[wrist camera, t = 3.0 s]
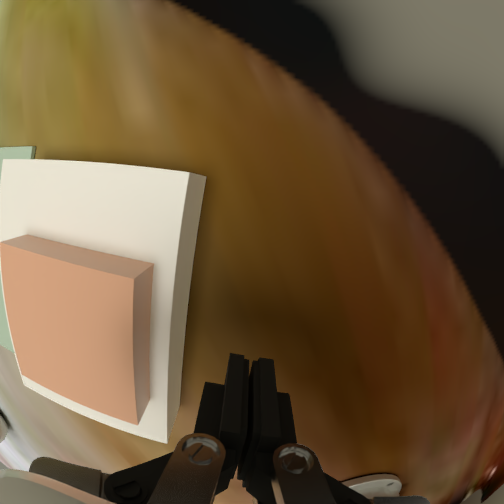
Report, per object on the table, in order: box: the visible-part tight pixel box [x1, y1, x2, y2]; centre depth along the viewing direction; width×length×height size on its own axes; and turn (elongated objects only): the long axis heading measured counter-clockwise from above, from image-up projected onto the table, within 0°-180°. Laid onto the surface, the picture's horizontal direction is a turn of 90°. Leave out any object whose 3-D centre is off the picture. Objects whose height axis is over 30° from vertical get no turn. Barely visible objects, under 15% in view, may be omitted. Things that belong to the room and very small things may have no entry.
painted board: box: [0, 159, 206, 444], centre depth 14 cm, size 12×16×4 cm
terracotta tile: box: [0, 234, 154, 425], centre depth 11 cm, size 8×8×2 cm
